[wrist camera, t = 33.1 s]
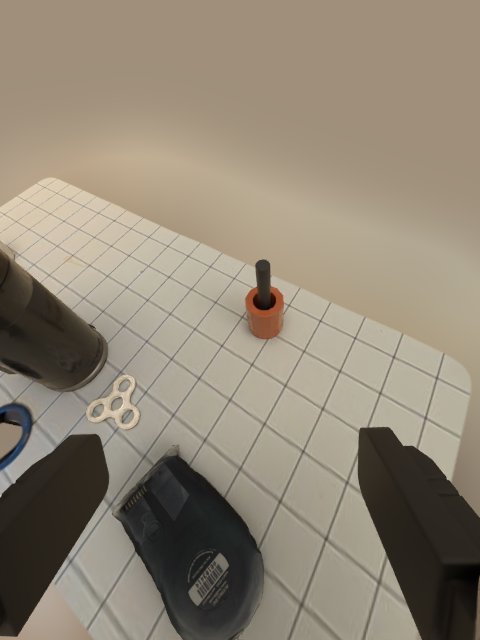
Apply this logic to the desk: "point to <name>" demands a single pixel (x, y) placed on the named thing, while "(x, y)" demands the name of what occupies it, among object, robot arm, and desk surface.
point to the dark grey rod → (263, 284)
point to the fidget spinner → (118, 413)
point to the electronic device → (194, 550)
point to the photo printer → (6, 250)
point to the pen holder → (265, 314)
